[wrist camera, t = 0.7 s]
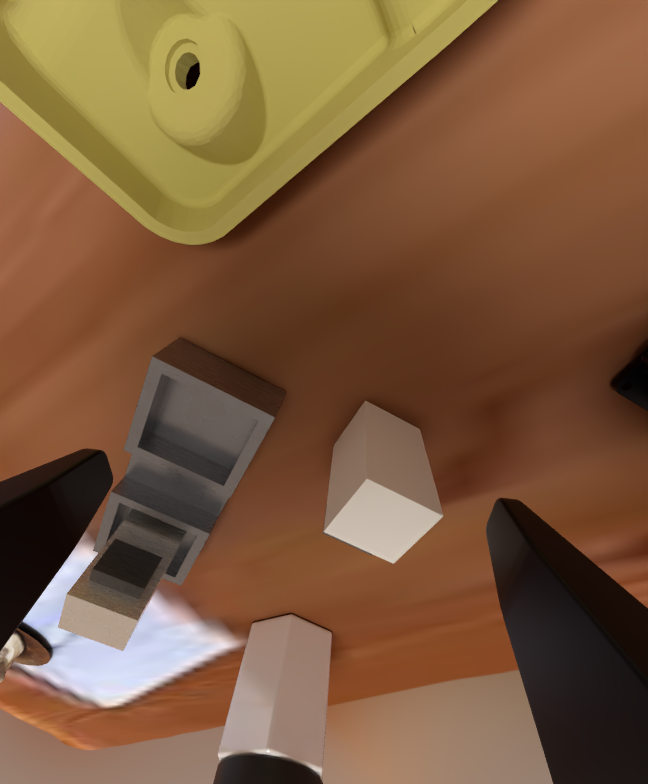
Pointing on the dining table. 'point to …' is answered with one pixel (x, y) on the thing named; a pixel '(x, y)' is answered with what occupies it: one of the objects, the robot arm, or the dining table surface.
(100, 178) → the plastic component
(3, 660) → the skull
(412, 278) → the dining table surface
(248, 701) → the jar
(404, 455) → the beige rectangular block
